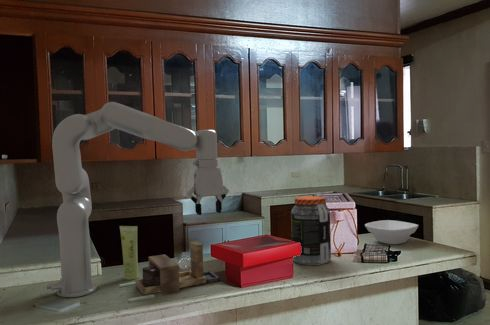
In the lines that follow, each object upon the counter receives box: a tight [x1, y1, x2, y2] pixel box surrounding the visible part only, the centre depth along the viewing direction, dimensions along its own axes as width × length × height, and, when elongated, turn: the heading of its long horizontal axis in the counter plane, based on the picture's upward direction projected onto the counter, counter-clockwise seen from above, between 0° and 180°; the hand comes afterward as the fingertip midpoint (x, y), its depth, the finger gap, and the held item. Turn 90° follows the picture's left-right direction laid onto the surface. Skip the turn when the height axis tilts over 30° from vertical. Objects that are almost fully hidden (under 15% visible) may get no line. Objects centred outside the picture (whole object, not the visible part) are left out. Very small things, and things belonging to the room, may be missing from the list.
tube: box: [119, 225, 139, 281], centre depth 157 cm, size 6×5×20 cm
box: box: [142, 265, 160, 288], centre depth 145 cm, size 6×6×7 cm
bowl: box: [364, 219, 419, 245], centre depth 199 cm, size 21×21×9 cm
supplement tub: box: [290, 195, 332, 266], centre depth 172 cm, size 16×16×26 cm
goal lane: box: [118, 281, 155, 303], centre depth 142 cm, size 8×18×1 cm, turn 26°
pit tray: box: [203, 270, 221, 284], centre depth 154 cm, size 5×9×1 cm, turn 26°
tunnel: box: [148, 254, 181, 296], centre depth 146 cm, size 6×16×9 cm, turn 26°
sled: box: [134, 240, 207, 295], centre depth 147 cm, size 22×11×13 cm, turn 116°
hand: (208, 213), depth 153 cm, fingers open, 6 cm apart
